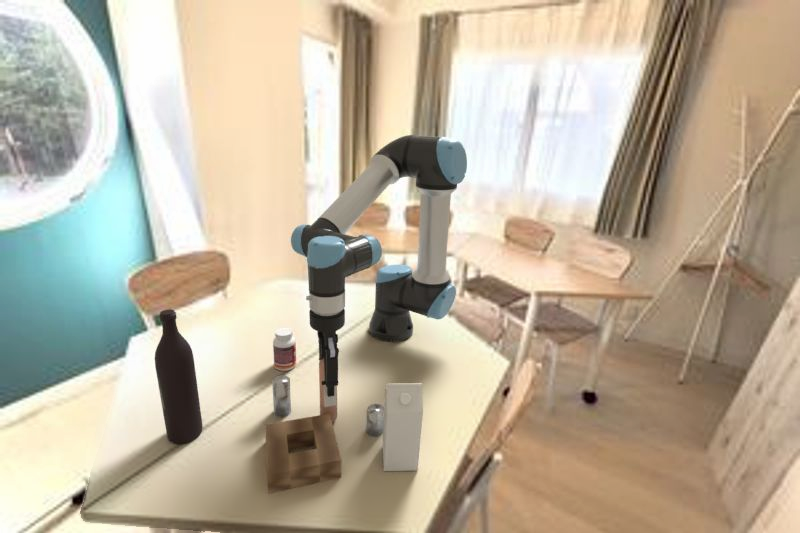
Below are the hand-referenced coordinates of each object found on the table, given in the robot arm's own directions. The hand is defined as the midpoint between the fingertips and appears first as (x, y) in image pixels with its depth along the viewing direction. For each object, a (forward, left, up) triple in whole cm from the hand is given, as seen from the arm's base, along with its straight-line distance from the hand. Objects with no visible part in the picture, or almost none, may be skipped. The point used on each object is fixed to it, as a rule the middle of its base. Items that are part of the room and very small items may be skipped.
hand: (328, 398), depth 96 cm
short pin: (-10, +6, -6) cm, 13 cm away
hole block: (+7, +10, -6) cm, 14 cm away
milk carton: (-13, +16, -6) cm, 21 cm away
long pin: (0, 0, -5) cm, 5 cm away
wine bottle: (+31, -4, -6) cm, 32 cm away
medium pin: (+10, -6, -6) cm, 13 cm away
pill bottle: (+8, -26, -6) cm, 28 cm away
